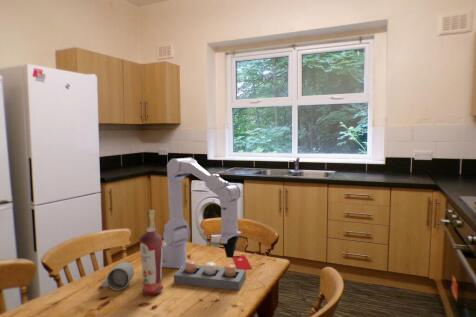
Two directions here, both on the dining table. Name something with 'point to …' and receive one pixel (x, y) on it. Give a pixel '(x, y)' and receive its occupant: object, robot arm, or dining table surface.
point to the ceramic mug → (119, 276)
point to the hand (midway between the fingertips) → (229, 256)
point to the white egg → (210, 268)
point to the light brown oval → (230, 270)
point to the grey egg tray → (210, 278)
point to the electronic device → (241, 262)
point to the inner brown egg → (190, 266)
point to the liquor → (151, 257)
